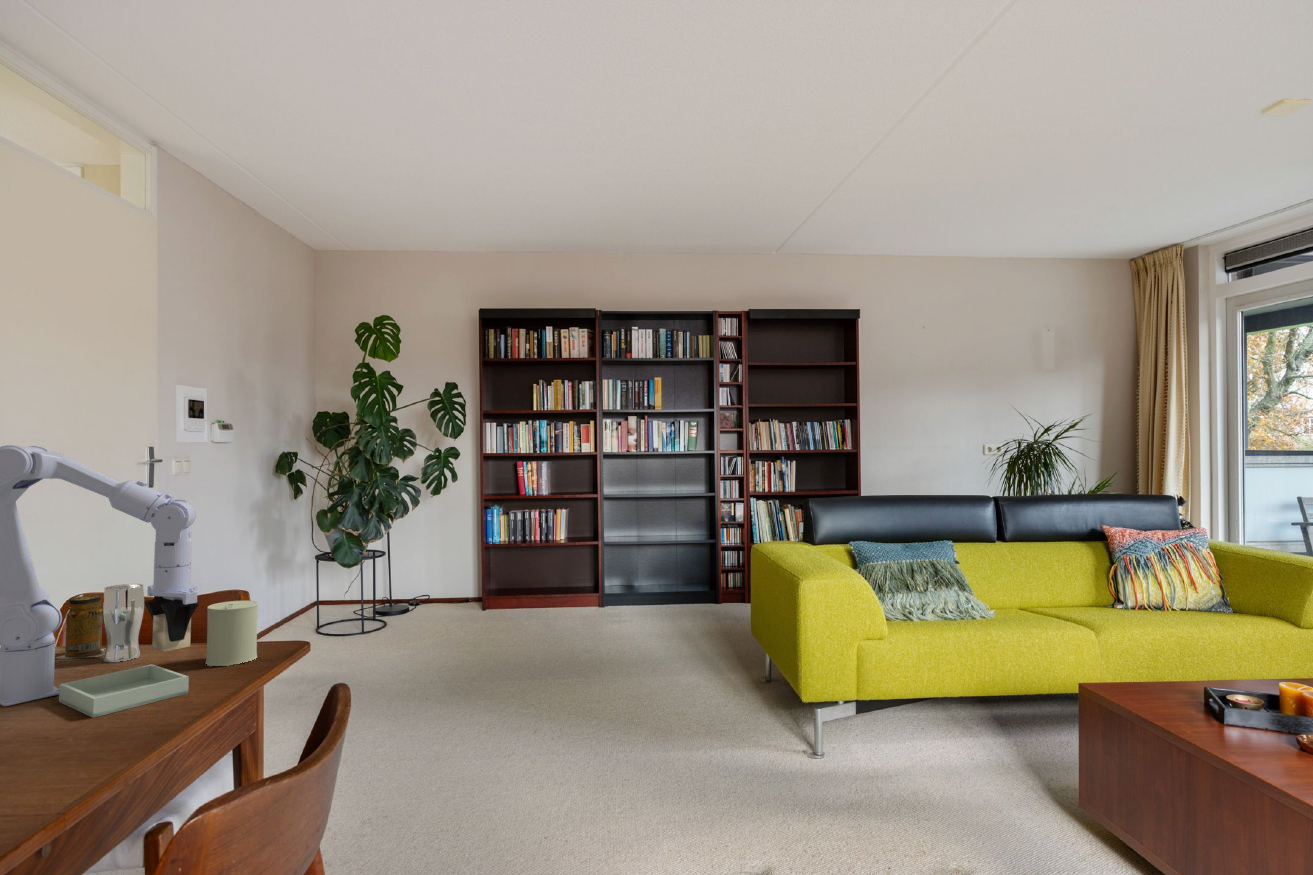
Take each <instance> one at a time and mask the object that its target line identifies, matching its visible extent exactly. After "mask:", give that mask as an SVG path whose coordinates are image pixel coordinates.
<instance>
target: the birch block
mask: <svg viewBox="0 0 1313 875" xmlns="http://www.w3.org/2000/svg"><path fill="white" fill-rule="evenodd" d="M191 632H192V618H191V619H190V621H189V624H188V628H187V631H186V634H185V637H184V640H179V641H174V642H171V641H170V639H169V635H168V625H167V620H166V616H165V614H160V615H154V616H153V621H152V642H151V644H152V649H153V650H154V649H155V650H159V651H160V652H169V651H173V650H178V649H183V648H188V647H191V636H192V635H191Z"/></svg>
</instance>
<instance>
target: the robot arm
mask: <svg viewBox="0 0 1313 875" xmlns="http://www.w3.org/2000/svg"><path fill="white" fill-rule="evenodd" d="M44 479H49V480H52V479H54V480H55V479H57V480H58V479H59V480H63V481H66V482H67V483H71V484H72V485H76V486H78V487H80V488H83V489H85V490H88V491H91V492H93V493H96V494H98V495H101V496H102V497H105V498H107V499H108V500H109V503H110V506H111V507H112V509H115V510H116V511H120V512H122V513H123V514H125V515H126V514H127V515H129V516H131V517H134V518H135V519H138V520H140V521H142V522H144V523H147V524H148V523H150V524H151V526H152V528H153V529H154V530H155V541H154V558H153V559H154V560H153V563H154V564H153V582H152V583H153V585H148V586H147V590H146V592H147V594H146V595H147V597H153V598H152V599H148V600H144V607H145V608H146V609H147V611H148V612H149V614H150V617H151V620H152V622H153V616H154V615H160V614H165V616H166V620H167V625H168V635H169V639H170V641H171V642H174V641H179V640H184V637H185V634H186V631H187V628H188V624H189V621H190V619H191V620H192V617H193V614H194V613H195V611H196V609H197V608H198V607H199V604H200V601H198V592H197V589H198V588H197V586H195V585H191V577H192V574H191V572H192V548H193V547H192V546H193V542H192V525H193V524H194V522H195V520H196V518H197V515H196V514H197V512H196V510H195V507H194V506H193V505H192V504H190V503H189V502H187V501H186V499H174V500H173V498H174V495H173V494H170V493H166V494H164V493H162V492H159V491H158V490H155V489H153V488H151V487H149V486H148V482H146V481H143V480H138V481H135V480H130V479H129V480H126V481H122V482H120V481H118V480H116V479H114V478H112V477H110V476H107V475H105V474H103V473H101V472H100V471H97V470H95V469H94V468H91V467H89V466H87V465H86V464H83V463H81V462H79V461H77V460H75V459H73V458H71V457H69V456H66V455H64V454H61V453H58V452H55V451H49V450H48V449H46V448H44V447H42V446H37V445H30V446H29V445H28V446H18V445H13V444H7V445H2V446H0V705H1V706H3V707H7V706H8V707H9V706H14V705H17V704H21V703H26V702H30V701H35V700H39V699H44V698H48V697H49V698H50V697H52V696H59V688H58V687H56V686H55V662H56V657H55V655H56V653H55V652H56V637H55V636H54V633H55V632H56V631H57V630H58V629H59V628H60V626H61V624H62V620H63V616H62V612H61V610H60V609H59V608H58V607H57V606H56V605H55V604H54V603H53V602H52V599H51V597H50V594H49V593H48V592H47V591H46V590H44V588H42V587H41V586H40V583H39V579H38V577H37V572H36V569H35V566H34V565H35V564H34V562H33V559H32V555H31V551H30V549H29V545H28V544H29V543H28V541H27V538H26V535H25V531H24V527H23V524H22V521H21V516H20V514H19V511H18V510H19V509H18V507H17V503H16V502H17V501H18V499H20V497H22V495H23V494H25V492H26V491H27V490H28V489H29V488H30V487H32V486H33V485H35V484H37V483H39V482H40V481H42V480H44Z"/></svg>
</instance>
